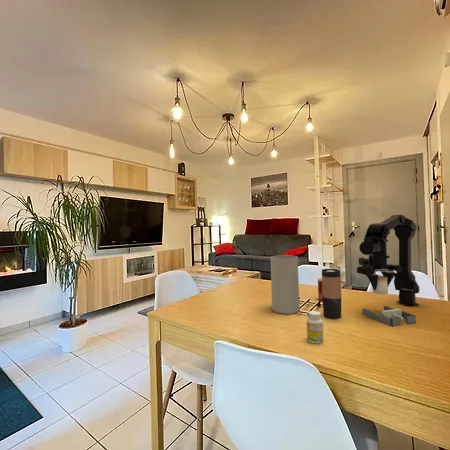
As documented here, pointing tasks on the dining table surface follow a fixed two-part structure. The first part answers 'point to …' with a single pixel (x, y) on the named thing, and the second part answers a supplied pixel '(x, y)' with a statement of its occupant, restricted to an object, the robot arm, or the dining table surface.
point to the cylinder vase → (285, 284)
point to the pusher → (393, 313)
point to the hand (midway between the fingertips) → (380, 289)
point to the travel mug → (331, 293)
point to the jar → (381, 285)
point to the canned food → (320, 289)
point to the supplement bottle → (315, 327)
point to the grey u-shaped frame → (392, 320)
